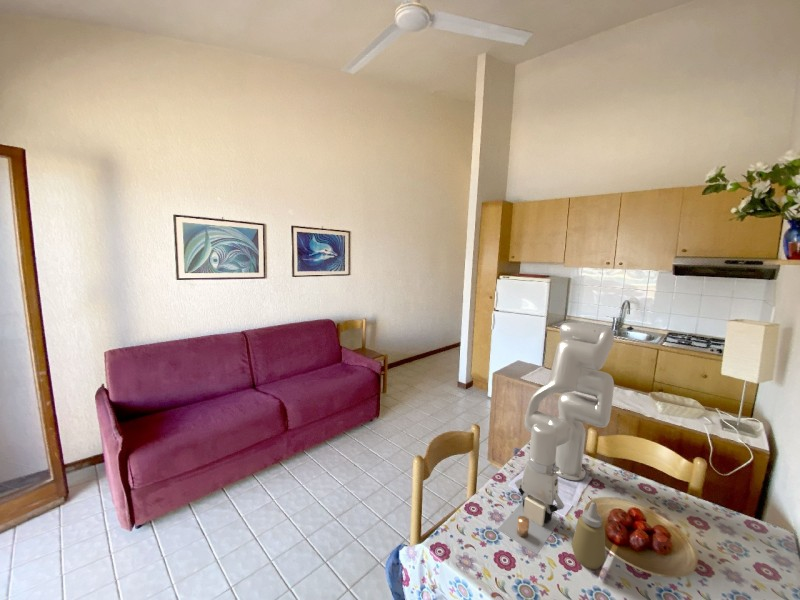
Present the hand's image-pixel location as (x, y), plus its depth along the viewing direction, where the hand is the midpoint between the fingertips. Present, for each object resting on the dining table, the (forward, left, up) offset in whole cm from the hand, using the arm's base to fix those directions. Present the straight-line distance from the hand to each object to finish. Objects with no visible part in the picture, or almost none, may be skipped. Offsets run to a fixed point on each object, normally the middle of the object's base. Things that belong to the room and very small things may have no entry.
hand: (536, 514), depth 109 cm
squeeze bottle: (+5, +16, -2) cm, 17 cm away
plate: (+5, 0, -2) cm, 5 cm away
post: (+10, 0, 0) cm, 10 cm away
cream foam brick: (0, 0, 0) cm, 0 cm away
